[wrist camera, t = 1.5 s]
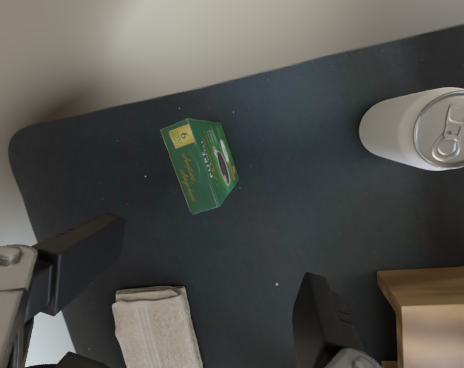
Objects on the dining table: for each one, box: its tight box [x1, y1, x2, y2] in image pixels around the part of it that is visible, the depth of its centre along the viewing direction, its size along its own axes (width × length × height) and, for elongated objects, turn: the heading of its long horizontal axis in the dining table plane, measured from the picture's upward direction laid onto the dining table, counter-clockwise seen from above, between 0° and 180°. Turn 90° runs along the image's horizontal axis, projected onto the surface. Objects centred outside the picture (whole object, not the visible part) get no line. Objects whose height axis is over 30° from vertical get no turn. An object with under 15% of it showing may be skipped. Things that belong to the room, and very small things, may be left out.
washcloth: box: [112, 286, 203, 368], centre depth 41 cm, size 12×18×3 cm, turn 11°
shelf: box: [377, 266, 464, 368], centre depth 29 cm, size 16×12×12 cm
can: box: [359, 87, 464, 171], centre depth 25 cm, size 6×6×12 cm
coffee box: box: [161, 118, 240, 215], centre depth 28 cm, size 8×3×13 cm, turn 19°
